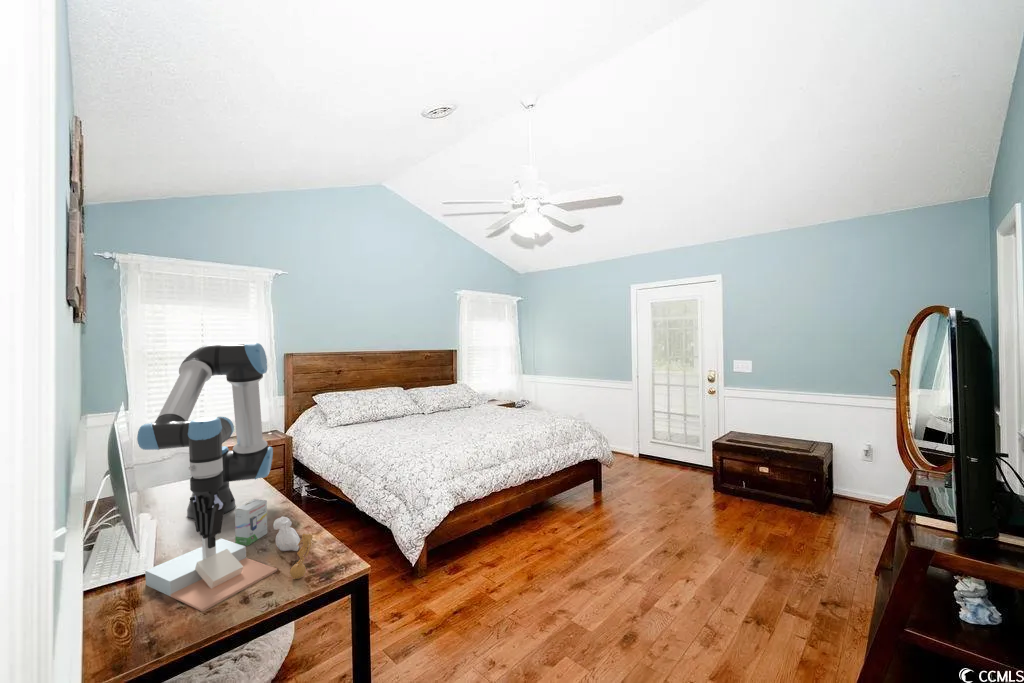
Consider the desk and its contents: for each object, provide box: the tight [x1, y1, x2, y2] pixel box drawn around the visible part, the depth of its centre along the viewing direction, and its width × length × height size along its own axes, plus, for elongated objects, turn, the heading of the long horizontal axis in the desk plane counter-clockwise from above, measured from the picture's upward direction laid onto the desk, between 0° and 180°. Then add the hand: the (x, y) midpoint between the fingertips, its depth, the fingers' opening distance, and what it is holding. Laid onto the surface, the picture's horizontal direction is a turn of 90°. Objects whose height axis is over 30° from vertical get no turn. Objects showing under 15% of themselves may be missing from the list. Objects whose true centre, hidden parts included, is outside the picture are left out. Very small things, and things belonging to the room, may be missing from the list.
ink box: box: [234, 498, 268, 547], centre depth 145 cm, size 9×5×12 cm, turn 168°
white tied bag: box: [273, 516, 301, 552], centre depth 139 cm, size 12×8×11 cm
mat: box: [170, 557, 278, 612], centre depth 121 cm, size 20×14×1 cm
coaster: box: [195, 549, 243, 589], centre depth 122 cm, size 8×8×2 cm
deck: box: [144, 537, 247, 598], centre depth 126 cm, size 20×12×4 cm, turn 154°
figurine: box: [289, 533, 313, 580], centre depth 123 cm, size 8×6×12 cm
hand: (209, 558), depth 124 cm, fingers closed
